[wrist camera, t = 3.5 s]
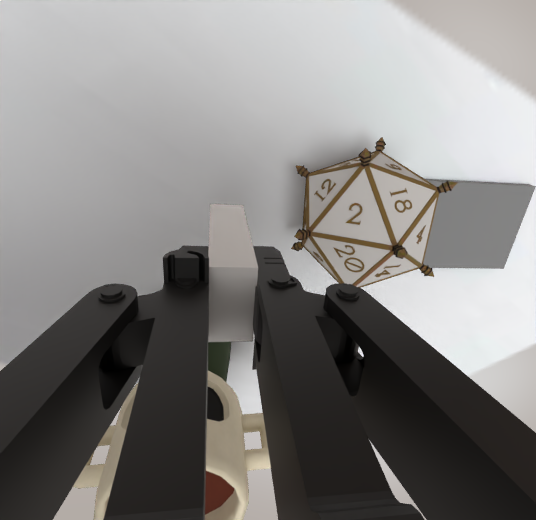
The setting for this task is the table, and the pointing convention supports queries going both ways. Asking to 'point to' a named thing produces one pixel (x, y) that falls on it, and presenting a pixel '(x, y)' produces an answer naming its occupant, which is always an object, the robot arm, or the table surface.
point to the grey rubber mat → (476, 224)
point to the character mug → (217, 447)
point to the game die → (368, 218)
